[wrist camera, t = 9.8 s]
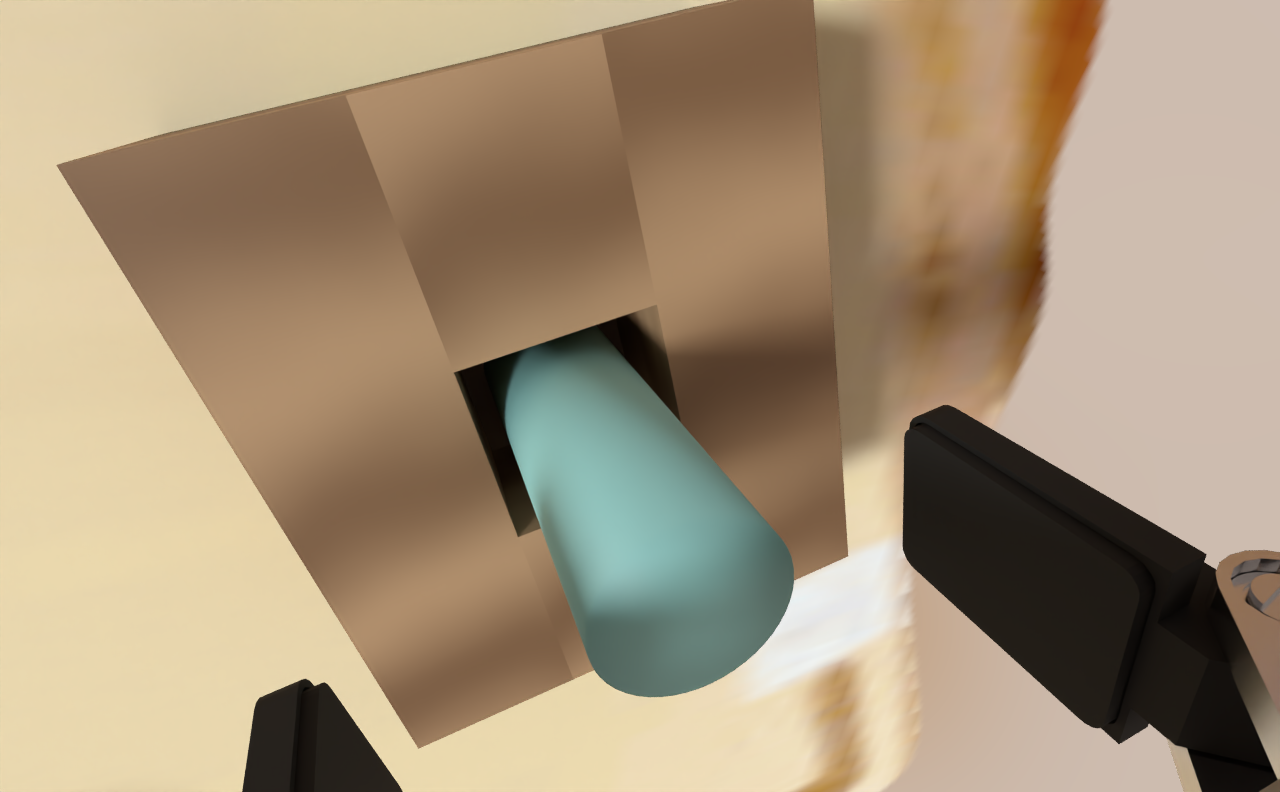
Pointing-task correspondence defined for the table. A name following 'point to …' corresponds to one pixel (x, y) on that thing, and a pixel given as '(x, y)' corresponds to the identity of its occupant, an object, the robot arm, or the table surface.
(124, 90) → the table surface
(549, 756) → the table surface
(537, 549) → the block
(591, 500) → the pin
